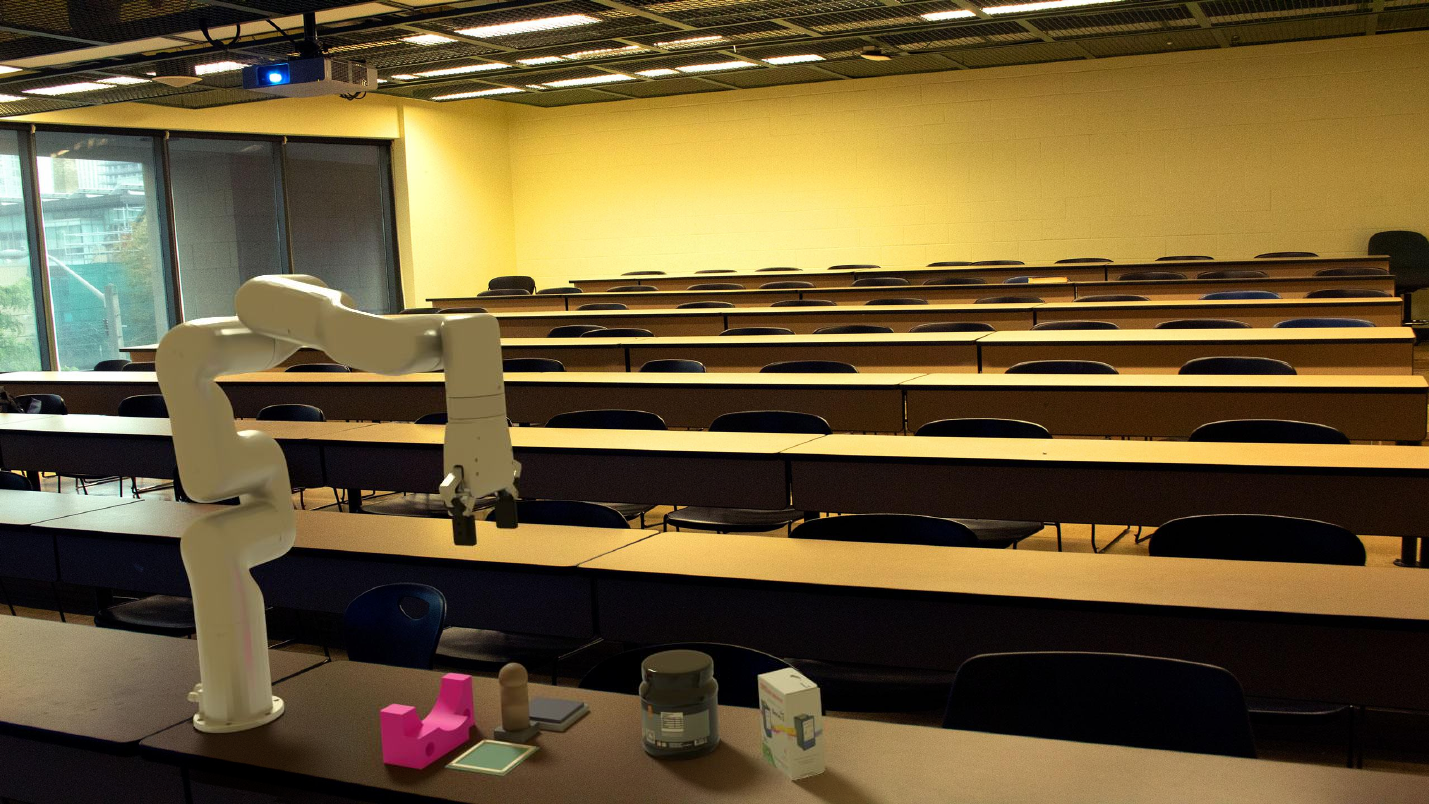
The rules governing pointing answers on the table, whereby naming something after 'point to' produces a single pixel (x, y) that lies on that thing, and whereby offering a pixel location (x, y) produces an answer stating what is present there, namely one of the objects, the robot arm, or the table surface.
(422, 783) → the table surface
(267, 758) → the table surface
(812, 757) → the ink box
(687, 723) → the supplement container
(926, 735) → the table surface
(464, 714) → the toy block
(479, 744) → the mat
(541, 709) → the ink pad
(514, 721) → the stamp
